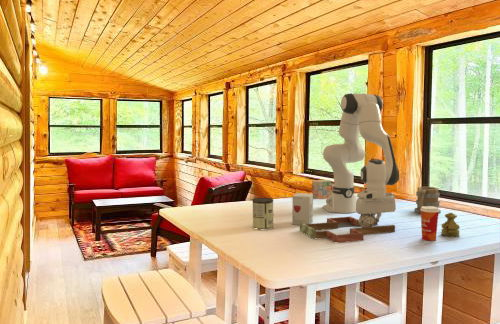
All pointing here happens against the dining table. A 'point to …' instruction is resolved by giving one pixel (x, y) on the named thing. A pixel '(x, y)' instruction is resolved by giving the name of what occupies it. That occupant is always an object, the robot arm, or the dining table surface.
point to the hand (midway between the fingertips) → (375, 222)
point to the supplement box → (302, 209)
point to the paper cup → (429, 222)
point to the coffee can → (263, 213)
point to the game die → (366, 220)
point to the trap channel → (339, 222)
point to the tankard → (427, 198)
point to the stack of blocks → (322, 189)
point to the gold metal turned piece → (450, 226)
